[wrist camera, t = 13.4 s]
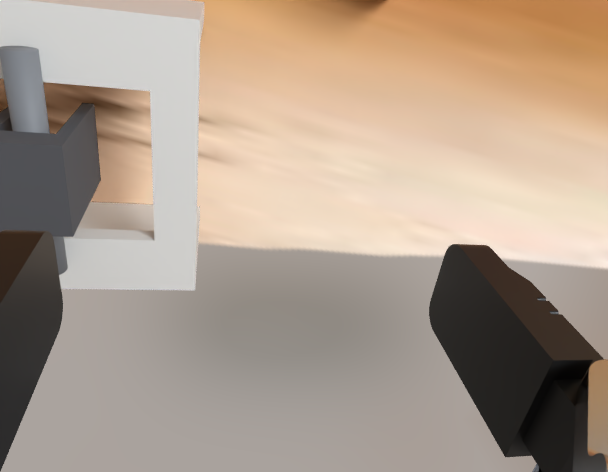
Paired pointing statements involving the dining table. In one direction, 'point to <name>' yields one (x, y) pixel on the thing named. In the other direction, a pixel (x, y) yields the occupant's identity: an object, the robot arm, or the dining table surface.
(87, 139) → the gray u-channel post
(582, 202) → the dining table surface
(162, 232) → the white channel bracket
